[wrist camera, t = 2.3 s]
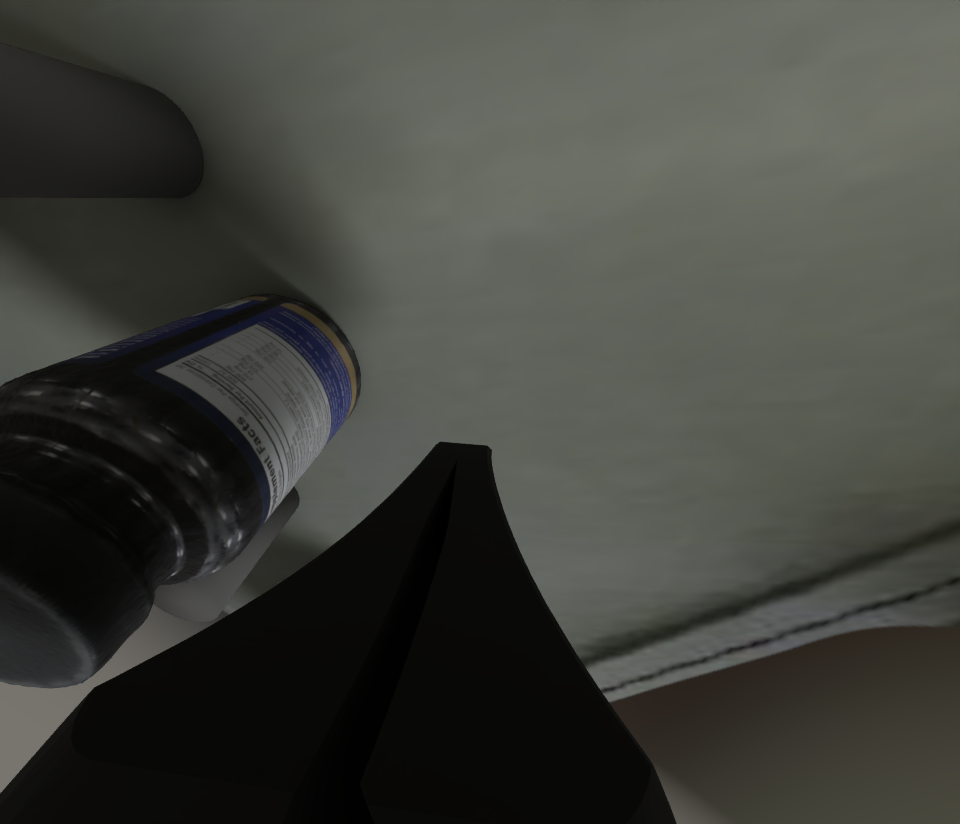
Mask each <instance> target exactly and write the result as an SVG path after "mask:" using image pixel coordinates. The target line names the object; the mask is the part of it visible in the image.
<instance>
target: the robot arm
mask: <svg viewBox="0 0 960 824" xmlns="http://www.w3.org/2000/svg"><path fill="white" fill-rule="evenodd" d="M491 456H492V450H491V449H490V448H489V447H488V446H485V445H473V444H461V443H449V442H439V443H438V444H436V445H435V447H434V448H433V449H432V450H431V451H430V453H429V454H428V455H427V456H426V457H425V458H424V460H423V461H422V462H421V463H420V464H419V465H418V466H417V467H416V469H415V470H414V471H413V472H412V473H411V474H410V475H409V476H408V477H407V478H406V479H405V480H404V481H403V482H402V483H401V484H400V485H399V487H398V488H397V489H396V490H395V491H394V492H393V493H392V494H391V495H390V496H389V497H388V498H387V499H385V500H384V501H383V502H382V503H381V504H380V505H379V506H378V507H377V508H376V509H375V510H374V511H373V512H371V513H370V514H369V515H368V516H367V517H366V518H365V519H364V520H363V521H362V522H360V523H359V524H358V525H357V526H356V527H355V528H353V529H352V530H351V531H350V532H349V533H347V534H346V535H345V536H344V537H342V538H341V539H340V540H339V541H337V542H336V543H335V544H334V545H332V546H331V547H330V548H328V549H327V550H326V551H325V552H323V553H322V554H320V555H319V556H318V557H316V558H315V559H314V560H312V561H311V562H309V563H308V564H307V565H305V566H304V567H302V568H301V569H300V570H298V571H297V572H295V573H294V574H292V575H291V576H290V577H288V578H287V579H285V580H284V581H282V582H281V583H279V584H278V585H276V586H275V587H273V588H272V589H270V590H269V591H267V592H265V593H264V594H262V595H261V596H259V597H257V598H256V599H254V600H252V601H251V602H249V603H248V604H246V605H244V606H243V607H241V608H239V609H238V610H236V611H235V612H233V613H231V614H230V615H228V616H226V617H225V618H223V619H221V620H219V621H218V622H216V623H214V624H213V625H211V626H209V627H207V628H206V629H204V630H202V631H200V632H199V633H197V634H195V635H193V636H192V637H190V638H188V639H186V640H184V641H182V642H180V643H179V644H177V645H175V646H173V647H171V648H169V649H167V650H165V651H163V652H162V653H160V654H158V655H156V656H154V657H152V658H150V659H148V660H146V661H145V662H143V663H141V664H139V665H137V666H135V667H133V668H132V669H130V670H128V671H126V672H124V673H122V674H120V675H118V676H116V677H115V678H113V679H110V680H108V681H106V682H105V683H102V684H100V685H99V686H96V687H95V688H94V689H93V690H92V691H91V692H90V693H89V694H88V695H87V696H86V697H85V698H84V699H83V700H82V701H81V703H80V704H79V705H78V706H77V707H76V708H75V709H74V711H73V712H72V713H71V714H70V715H69V716H68V717H67V718H66V719H65V721H64V722H63V723H62V724H61V725H60V726H59V727H58V729H57V730H56V731H55V732H54V733H53V734H52V735H51V736H50V738H49V739H48V740H47V741H46V742H45V743H44V745H43V746H42V747H41V748H40V749H39V750H38V751H37V752H36V754H35V755H34V756H33V757H32V758H31V759H30V760H29V761H28V763H27V764H26V765H25V766H24V767H23V768H22V770H21V771H20V772H19V773H18V774H17V775H16V776H15V778H14V779H13V780H12V781H11V782H10V783H9V784H8V786H7V787H6V788H5V789H4V790H3V791H2V792H1V793H0V824H676V821H675V818H674V815H673V813H672V810H671V807H670V805H669V802H668V800H667V797H666V795H665V792H664V790H663V787H662V785H661V782H660V780H659V777H658V775H657V773H656V770H655V768H654V766H653V764H652V762H651V761H650V759H649V758H648V756H647V755H646V754H645V752H644V751H643V749H642V748H641V747H640V745H639V744H638V743H637V741H636V740H635V738H634V737H633V736H632V734H631V733H630V732H629V730H628V729H627V727H626V726H625V725H624V723H623V722H622V721H621V719H620V718H619V716H618V715H617V714H616V712H615V711H614V709H613V708H612V706H611V705H610V703H609V702H608V700H607V699H606V698H605V696H604V695H603V693H602V692H601V690H600V689H599V688H598V686H597V684H596V683H595V681H594V680H593V678H592V677H591V675H590V674H589V672H588V671H587V669H586V668H585V666H584V665H583V663H582V662H581V660H580V659H579V657H578V656H577V654H576V653H575V651H574V649H573V648H572V646H571V644H570V643H569V641H568V639H567V638H566V636H565V634H564V633H563V631H562V629H561V627H560V626H559V624H558V622H557V621H556V619H555V617H554V616H553V614H552V612H551V611H550V609H549V607H548V606H547V604H546V602H545V600H544V599H543V597H542V595H541V593H540V591H539V589H538V587H537V585H536V583H535V581H534V580H533V578H532V576H531V574H530V572H529V570H528V567H527V565H526V563H525V561H524V559H523V557H522V555H521V553H520V550H519V548H518V546H517V543H516V541H515V539H514V536H513V534H512V531H511V529H510V526H509V524H508V521H507V518H506V515H505V513H504V510H503V507H502V503H501V500H500V497H499V494H498V490H497V487H496V483H495V478H494V473H493V468H492V460H491Z"/></svg>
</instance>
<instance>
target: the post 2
mask: <svg viewBox="0 0 960 824" xmlns="http://www.w3.org/2000/svg"><path fill="white" fill-rule="evenodd" d="M298 505H299V495H298V493H297V491H296V489H295V488H294V486H293V488H292V489H291V490H290V492H289V493H288V494H287V495H286V496H285V498H284V499H283V500H282V501H281V503H280V504H279V505H278V506H277V508H276V509H275V510H274V512H273V513H272V514H271V515H270V517H269V518H268V519H267V520H266V522H265V523H264V524H263V526H262V527H261V528H260V529H259V531H258V532H257V533H256V535H255V536H254V537H253V538H252V540H251V541H250V542H249V544H248V545H247V547H246V548H245V549H244V550H243V551H242V552H241V554H240V555H239V556H237V557H236V558H235V560H234V561H232V562H231V563H229V564H228V565H227V566H225V567H223V568H222V569H220V570H219V571H217V572H215V573H214V574H212V575H209V576H207V577H205V578H203V579H201V580H197V581H192V582H190V583H184V584H178V585H171V586H158V587H157V589H156V590H155V592H154V593H155V600H154V603H153V604H155V605H156V606H157V607H159V608H160V609H162V610H163V611H165V612H167V613H169V614H171V615H173V616H175V617H178V618H181V619H184V620H189V621H194V622H207V621H211V620H213V619H215V618H216V617H217V616H218V615H219V614H220V612H221V611H222V610H223V608H224V607H225V606H226V604H227V603H228V601H229V600H230V599H231V597H232V596H233V595H234V593H235V592H236V591H237V589H238V588H239V586H240V585H241V584H242V582H243V581H244V580H245V578H246V577H247V576H248V574H249V573H250V572H251V570H252V569H253V567H254V566H255V565H256V563H257V562H258V561H259V559H260V558H261V557H262V555H263V554H264V552H265V551H266V550H267V548H268V547H269V546H270V544H271V543H272V542H273V540H274V539H275V537H276V536H277V535H278V533H279V532H280V531H281V529H282V528H283V527H284V525H285V524H286V523H287V521H288V520H289V518H290V517H291V516H292V514H293V513H294V512H295V510H296V509H297V507H298Z"/></svg>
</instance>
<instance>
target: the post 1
mask: <svg viewBox="0 0 960 824" xmlns="http://www.w3.org/2000/svg"><path fill="white" fill-rule="evenodd" d="M202 173H203V157H202V151H201V147H200V144H199V141H198V138H197V136H196V133H195V131H194V129H193V127H192V125H191V124H190V122H189V121H188V119H187V117H186V116H185V115H184V113H183V112H182V111H181V110H180V109H179V108H178V106H177V105H176V104H175V103H174V102H172V101H171V100H170V99H169V98H168V97H166V96H165V95H164V94H162V93H160V92H159V91H157V90H155V89H152V88H150V87H147V86H143V85H140V84H137V83H133V82H130V81H127V80H123V79H120V78H117V77H113V76H110V75H107V74H103V73H100V72H97V71H93V70H90V69H87V68H83V67H80V66H77V65H73V64H70V63H67V62H63V61H60V60H57V59H53V58H50V57H47V56H43V55H40V54H37V53H33V52H30V51H27V50H23V49H20V48H17V47H13V46H10V45H7V44H3V43H0V197H40V198H181V197H185V196H187V195H189V194H191V193H192V192H193V191H194V190H195V189H196V188H197V186H198V185H199V183H200V180H201V177H202Z"/></svg>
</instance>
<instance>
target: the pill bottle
mask: <svg viewBox="0 0 960 824" xmlns="http://www.w3.org/2000/svg"><path fill="white" fill-rule="evenodd" d="M360 388H361V373H360V367H359V364H358V360H357V358H356V355H355V352H354V350H353V348H352V346H351V344H350V343H349V341H348V339H347V338H346V336H345V335H344V334H343V333H342V331H341V330H340V329H339V328H338V327H337V326H336V325H335V324H334V323H333V322H332V321H331V320H330V319H329V318H328V317H327V316H325V315H324V314H322V313H321V312H320V311H318V310H316V309H314V308H313V307H311V306H309V305H307V304H305V303H302V302H298V301H296V300H294V299H290V298H286V297H283V296H279V295H272V294H260V295H251V296H248V297H244V298H241V299H239V300H236V301H233V302H230V303H227V304H223V305H221V306H218V307H215V308H212V309H209V310H207V311H204V312H201V313H198V314H195V315H192V316H189V317H187V318H184V319H181V320H178V321H175V322H172V323H170V324H167V325H164V326H161V327H158V328H156V329H153V330H150V331H147V332H144V333H142V334H139V335H136V336H133V337H130V338H127V339H124V340H122V341H119V342H116V343H113V344H110V345H107V346H105V347H102V348H99V349H96V350H94V351H91V352H88V353H85V354H82V355H80V356H77V357H74V358H71V359H68V360H65V361H62V362H59V363H56V364H53V365H50V366H48V367H45V368H43V369H40V370H36V371H33V372H30V373H27V374H25V375H23V376H21V377H18V378H15V379H13V380H11V381H9V382H6V383H4V384H3V385H2V386H1V387H0V681H1V682H4V683H8V684H12V685H21V686H27V687H39V688H60V687H68V686H72V685H77V684H79V683H83V682H84V681H86V680H87V679H88V678H90V677H91V676H93V675H94V674H95V673H96V672H97V671H98V670H100V669H101V668H102V667H103V666H104V665H105V664H106V663H107V662H108V661H109V660H110V659H111V658H112V656H113V655H114V654H115V653H116V651H117V650H118V649H119V648H120V646H121V645H122V644H123V643H124V642H125V641H126V639H127V638H128V637H129V636H130V635H131V634H132V633H133V632H134V631H136V630H137V629H138V628H139V627H140V626H141V625H142V624H143V623H144V621H145V620H146V618H147V617H148V615H149V613H150V610H151V608H152V605H153V603H154V600H155V593H154V592H155V590H156V589H157V587H158V586H171V585H178V584H184V583H190V582H192V581H197V580H201V579H203V578H205V577H207V576H209V575H212V574H214V573H215V572H217V571H219V570H220V569H222V568H223V567H225V566H227V565H228V564H229V563H231V562H232V561H234V560H235V558H236V557H237V556H239V555H240V554H241V552H242V551H243V550H244V549H245V548H246V547H247V545H248V544H249V542H250V541H251V540H252V538H253V537H254V536H255V535H256V533H257V532H258V531H259V529H260V528H261V527H262V526H263V524H264V523H265V522H266V520H267V519H268V518H269V517H270V515H271V514H272V513H273V512H274V510H275V509H276V508H277V506H278V505H279V504H280V503H281V501H282V500H283V499H284V498H285V496H286V495H287V494H288V493H289V492H290V490H291V489H292V488H293V486H294V485H295V484H296V482H297V481H298V480H299V479H300V477H301V476H302V475H303V474H304V472H305V471H306V470H307V469H308V468H309V466H310V465H311V464H312V462H313V461H314V460H315V459H316V457H317V456H318V455H319V453H320V452H321V451H322V450H323V448H324V447H325V446H326V445H327V443H328V442H329V441H330V440H331V438H332V437H333V436H334V434H335V433H336V432H337V431H338V429H339V428H340V427H341V426H342V424H343V423H344V422H345V420H346V419H348V417H349V416H350V415H351V413H352V411H353V410H354V408H355V406H356V404H357V402H358V399H359V396H360Z"/></svg>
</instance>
